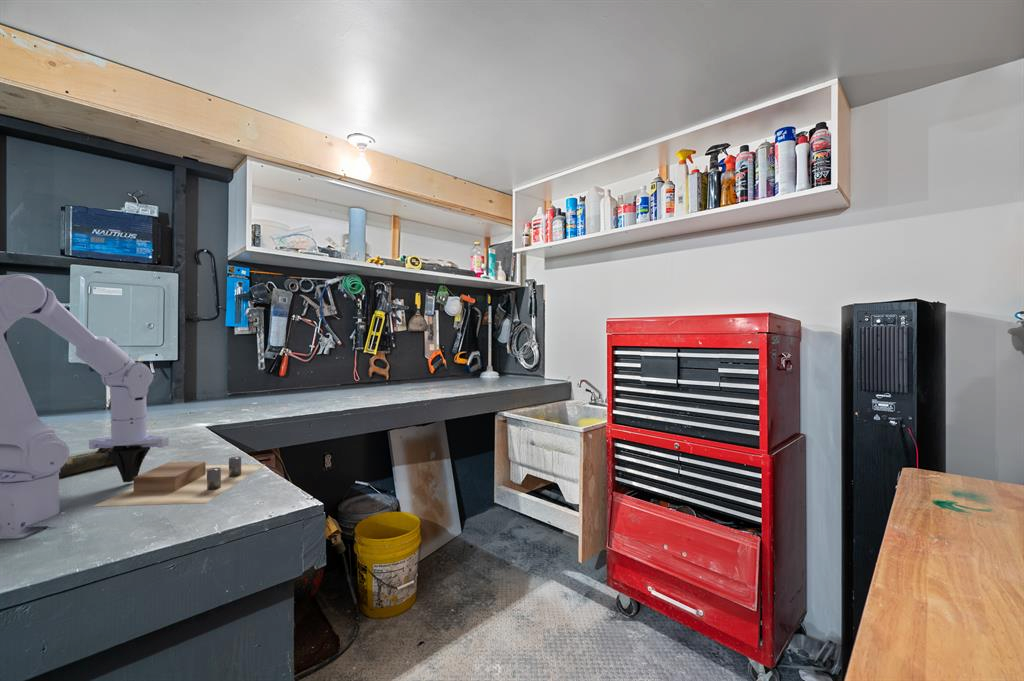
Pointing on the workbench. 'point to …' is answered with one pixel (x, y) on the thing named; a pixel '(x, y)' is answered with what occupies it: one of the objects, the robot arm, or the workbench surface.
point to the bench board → (190, 487)
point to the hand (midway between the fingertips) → (130, 480)
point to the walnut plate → (169, 476)
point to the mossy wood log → (86, 462)
